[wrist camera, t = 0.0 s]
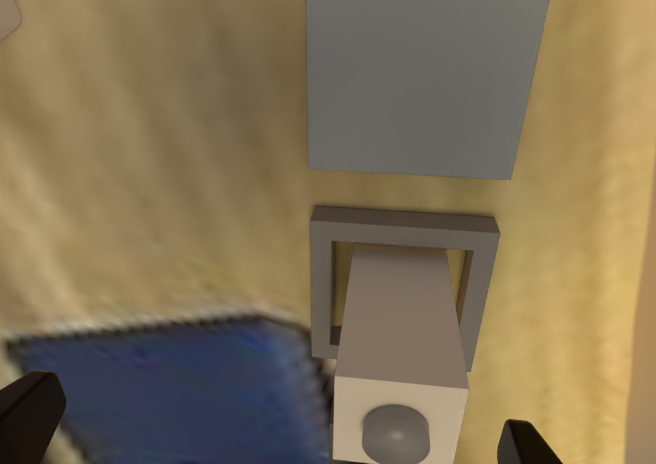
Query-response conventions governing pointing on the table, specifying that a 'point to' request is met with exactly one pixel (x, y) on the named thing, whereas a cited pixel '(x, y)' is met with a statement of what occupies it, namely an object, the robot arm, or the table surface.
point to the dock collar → (404, 231)
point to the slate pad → (420, 84)
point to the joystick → (8, 17)
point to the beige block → (399, 360)
